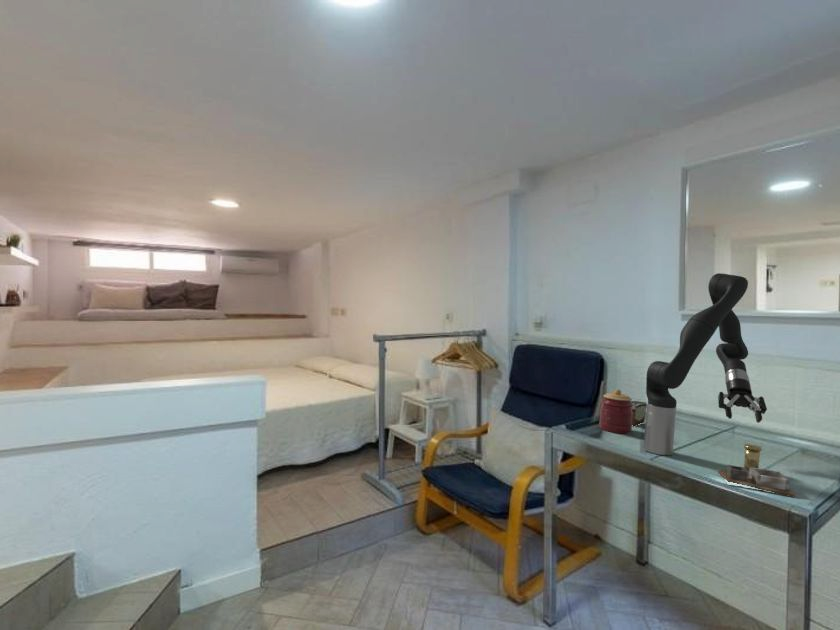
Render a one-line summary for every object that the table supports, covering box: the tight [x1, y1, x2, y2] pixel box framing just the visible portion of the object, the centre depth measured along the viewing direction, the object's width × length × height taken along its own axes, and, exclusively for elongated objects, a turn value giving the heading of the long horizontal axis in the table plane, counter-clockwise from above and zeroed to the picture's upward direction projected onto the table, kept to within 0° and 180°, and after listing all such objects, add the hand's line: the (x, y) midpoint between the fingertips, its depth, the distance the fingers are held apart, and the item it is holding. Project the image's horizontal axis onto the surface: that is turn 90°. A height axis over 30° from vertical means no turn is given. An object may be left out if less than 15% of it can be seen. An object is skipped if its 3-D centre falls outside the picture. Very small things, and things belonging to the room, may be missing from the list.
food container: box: [631, 400, 648, 427], centre depth 200 cm, size 12×6×10 cm, turn 130°
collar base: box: [717, 464, 795, 497], centre depth 133 cm, size 16×12×4 cm
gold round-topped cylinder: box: [743, 443, 762, 471], centre depth 147 cm, size 5×5×8 cm
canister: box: [598, 388, 634, 434], centre depth 188 cm, size 13×13×18 cm
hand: (744, 419), depth 157 cm, fingers open, 8 cm apart
